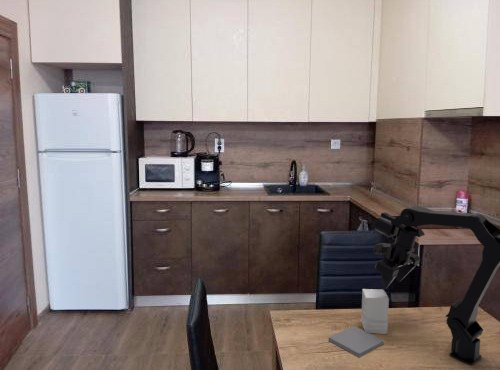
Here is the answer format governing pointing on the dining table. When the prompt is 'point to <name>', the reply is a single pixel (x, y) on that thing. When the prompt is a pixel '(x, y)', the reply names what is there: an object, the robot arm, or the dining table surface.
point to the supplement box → (375, 311)
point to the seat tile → (356, 341)
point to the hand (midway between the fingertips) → (391, 284)
